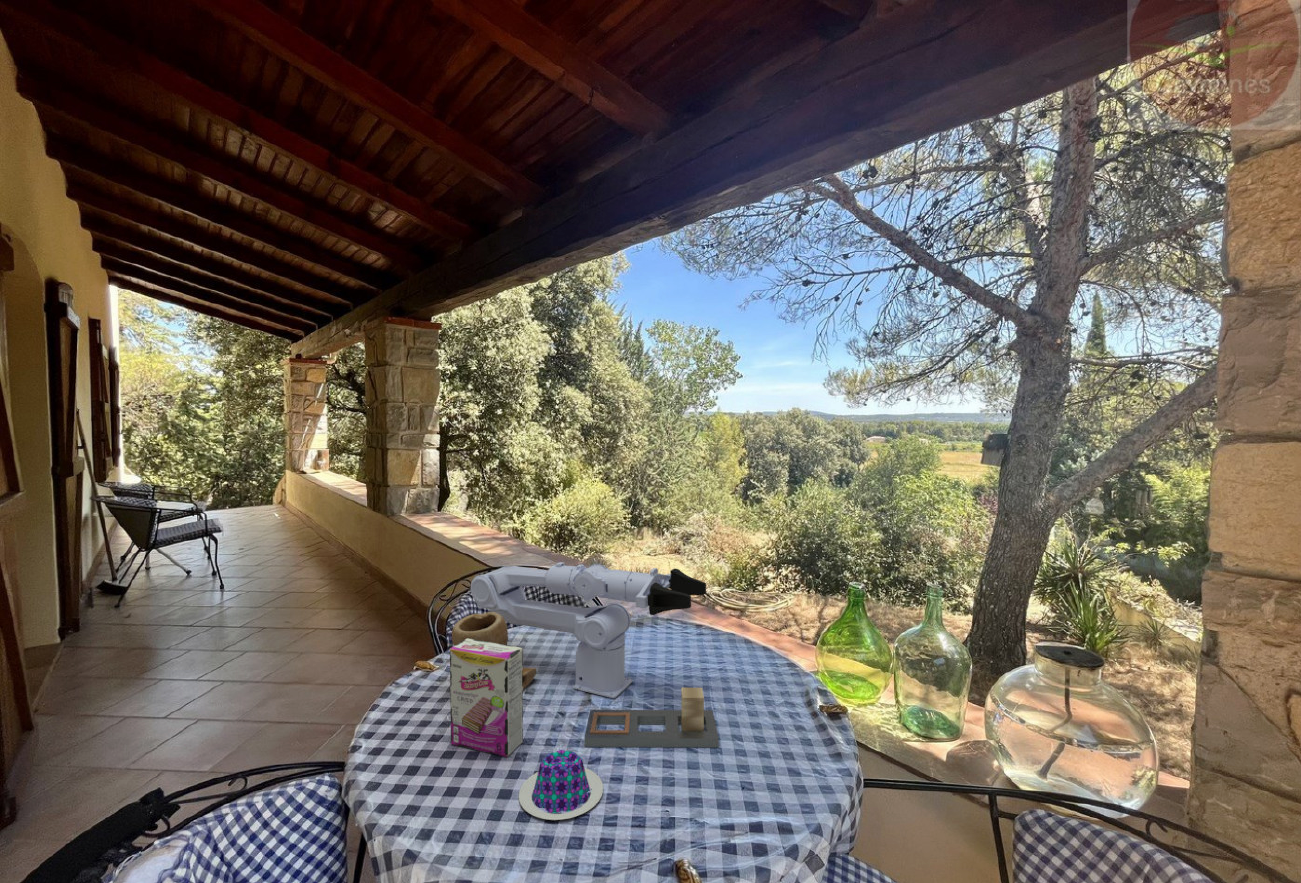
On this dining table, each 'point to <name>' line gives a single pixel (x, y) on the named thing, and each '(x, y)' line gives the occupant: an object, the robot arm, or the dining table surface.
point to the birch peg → (692, 709)
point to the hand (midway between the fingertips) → (698, 595)
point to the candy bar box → (486, 696)
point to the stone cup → (487, 634)
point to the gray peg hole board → (647, 738)
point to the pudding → (561, 787)
